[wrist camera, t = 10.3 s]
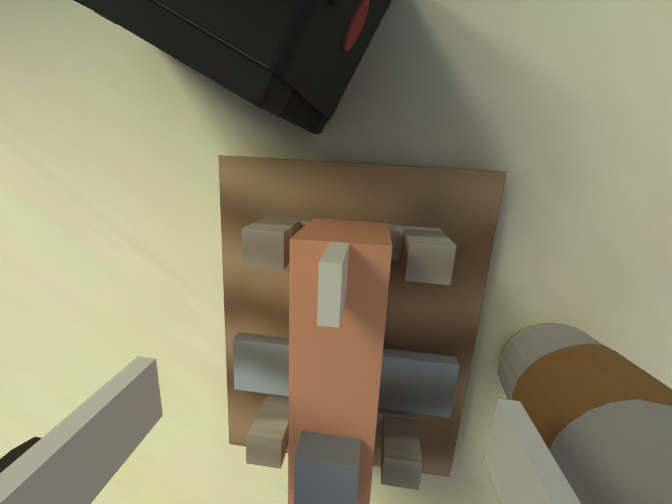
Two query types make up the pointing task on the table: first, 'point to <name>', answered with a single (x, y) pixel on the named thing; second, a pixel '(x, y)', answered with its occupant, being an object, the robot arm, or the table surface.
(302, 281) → the orange block with tabs
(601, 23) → the table surface
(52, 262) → the table surface
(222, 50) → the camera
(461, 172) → the jig
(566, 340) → the coffee cup
